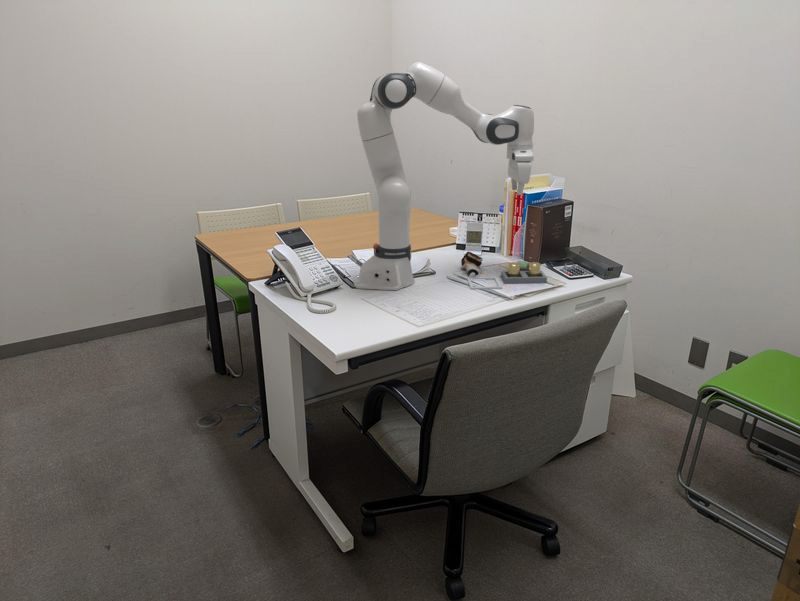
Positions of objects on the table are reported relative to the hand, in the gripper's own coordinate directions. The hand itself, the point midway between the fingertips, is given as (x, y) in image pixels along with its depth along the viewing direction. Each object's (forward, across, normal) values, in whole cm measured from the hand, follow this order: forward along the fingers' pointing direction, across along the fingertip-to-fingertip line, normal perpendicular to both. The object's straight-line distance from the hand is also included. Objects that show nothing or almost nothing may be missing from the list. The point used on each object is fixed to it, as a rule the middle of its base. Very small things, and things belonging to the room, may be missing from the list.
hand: (516, 192), depth 200 cm
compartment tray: (+31, +11, +2) cm, 33 cm away
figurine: (+32, +2, -16) cm, 35 cm away
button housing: (+31, +3, +3) cm, 31 cm away
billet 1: (+30, +11, -2) cm, 32 cm away
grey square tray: (+31, +15, -13) cm, 37 cm away
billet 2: (+30, +11, +6) cm, 32 cm away
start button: (+30, +3, +3) cm, 30 cm away
